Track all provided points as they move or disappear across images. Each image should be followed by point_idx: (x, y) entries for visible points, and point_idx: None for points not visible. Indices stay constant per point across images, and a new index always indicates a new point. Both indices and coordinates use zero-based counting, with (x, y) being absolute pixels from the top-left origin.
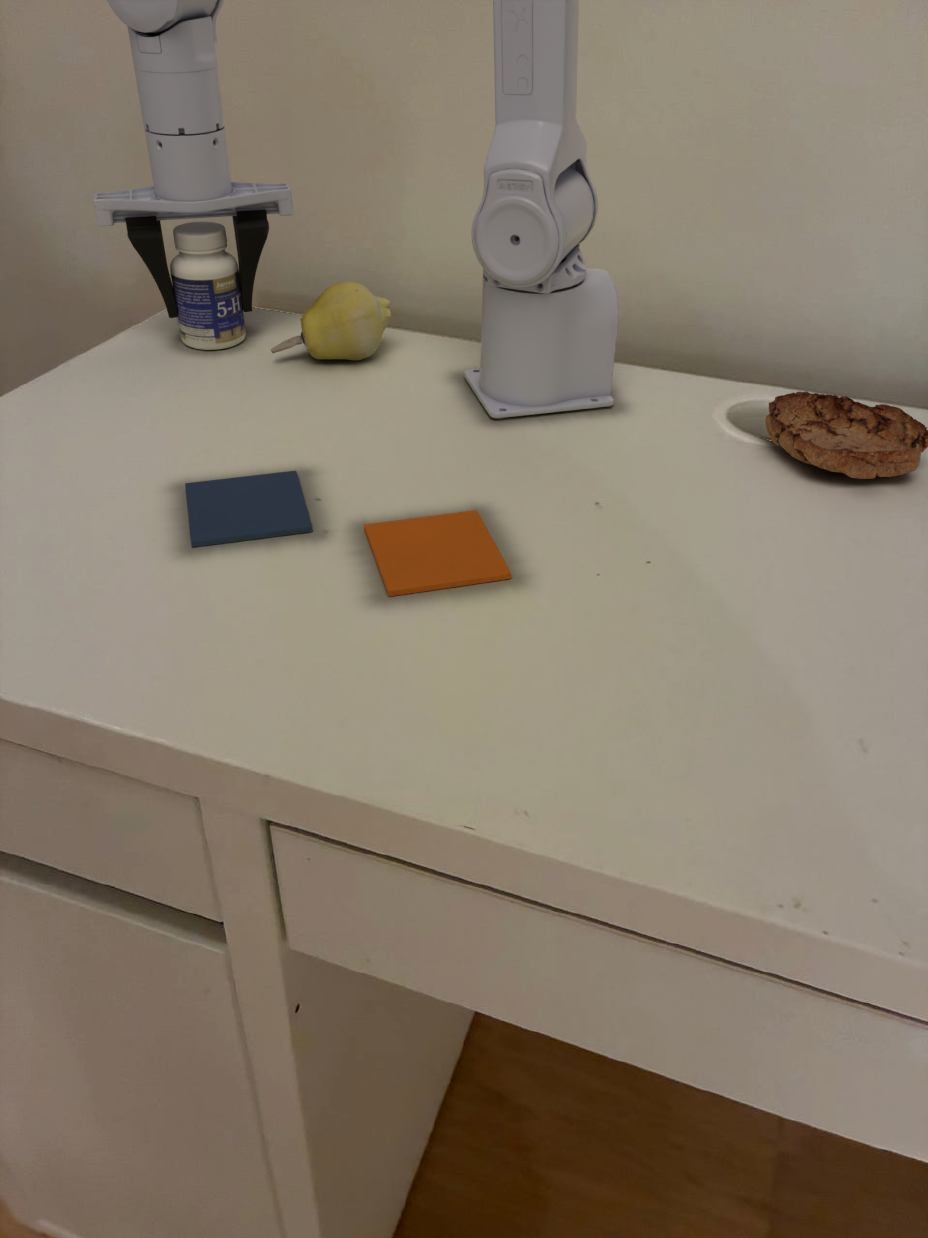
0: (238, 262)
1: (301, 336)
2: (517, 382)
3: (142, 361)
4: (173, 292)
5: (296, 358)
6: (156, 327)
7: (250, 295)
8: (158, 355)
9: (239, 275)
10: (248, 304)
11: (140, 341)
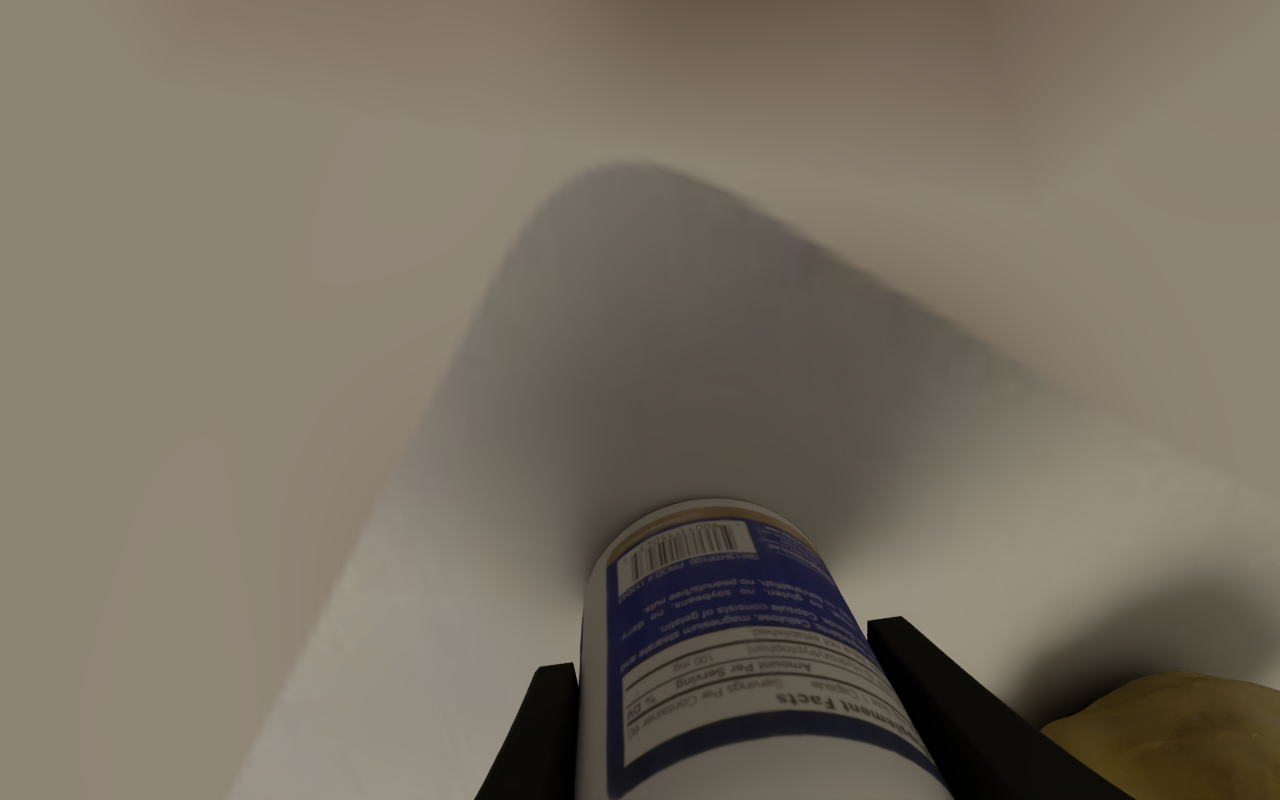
0: (987, 775)
1: None
2: None
3: (477, 737)
4: (572, 777)
5: None
6: (456, 470)
7: None
8: (520, 701)
9: (941, 736)
10: None
11: (426, 596)
